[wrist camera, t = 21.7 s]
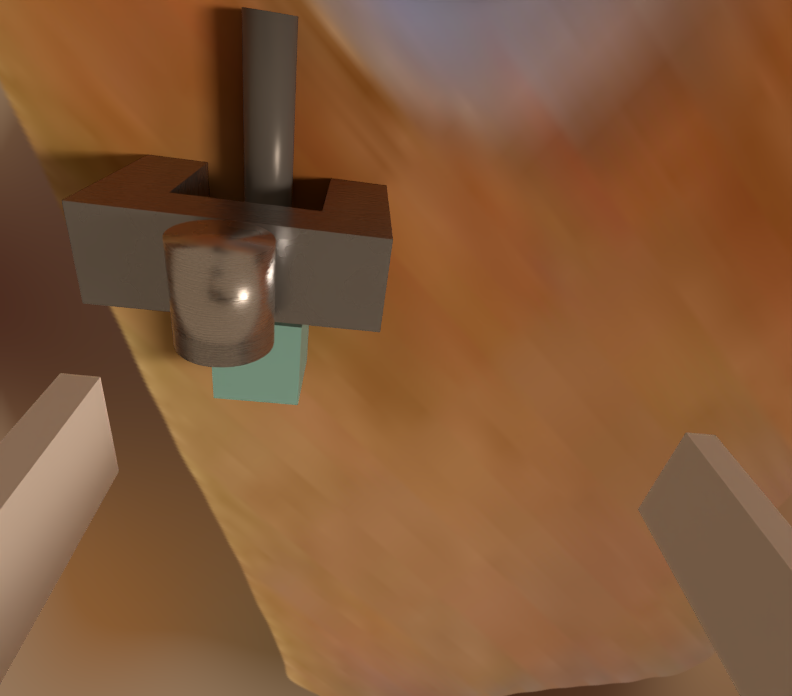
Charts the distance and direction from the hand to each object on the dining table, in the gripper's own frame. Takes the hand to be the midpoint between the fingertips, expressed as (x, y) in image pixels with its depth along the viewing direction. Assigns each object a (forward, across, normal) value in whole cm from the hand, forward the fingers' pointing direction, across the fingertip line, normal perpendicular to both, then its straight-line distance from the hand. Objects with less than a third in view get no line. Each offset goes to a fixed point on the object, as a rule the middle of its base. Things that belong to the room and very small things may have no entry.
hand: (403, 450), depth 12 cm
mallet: (+24, -7, -3) cm, 25 cm away
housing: (+24, -7, -3) cm, 25 cm away
